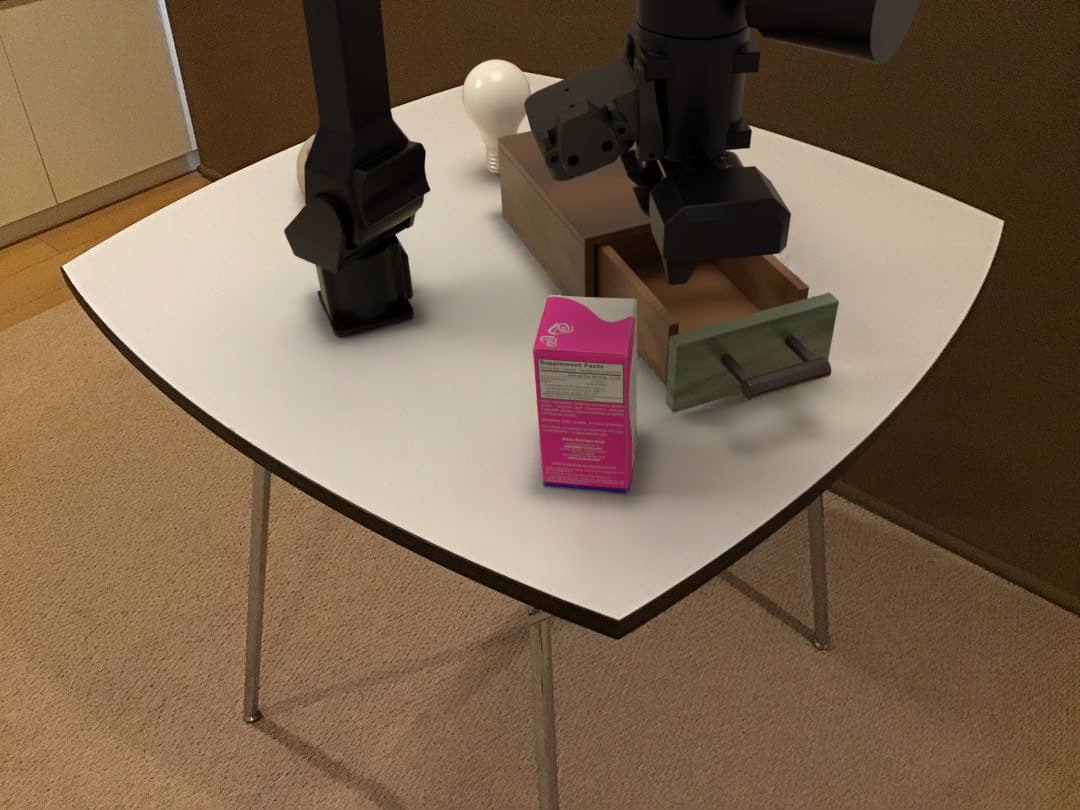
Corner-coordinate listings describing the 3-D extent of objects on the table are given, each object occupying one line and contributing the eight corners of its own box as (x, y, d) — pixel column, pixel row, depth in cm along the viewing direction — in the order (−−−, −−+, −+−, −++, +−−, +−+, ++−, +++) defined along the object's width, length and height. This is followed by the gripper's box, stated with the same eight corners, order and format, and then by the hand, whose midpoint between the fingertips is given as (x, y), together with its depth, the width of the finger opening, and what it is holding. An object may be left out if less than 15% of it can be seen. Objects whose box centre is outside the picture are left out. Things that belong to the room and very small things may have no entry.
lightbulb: (511, 194, 98) (504, 81, 90) (456, 179, 100) (445, 68, 93) (546, 166, 102) (542, 56, 95) (492, 152, 104) (485, 44, 97)
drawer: (863, 402, 71) (878, 334, 68) (703, 452, 68) (710, 383, 64) (707, 251, 87) (712, 188, 83) (571, 285, 84) (570, 222, 80)
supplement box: (552, 429, 72) (547, 290, 64) (638, 437, 71) (643, 297, 63) (538, 488, 67) (531, 346, 60) (629, 497, 66) (633, 353, 59)
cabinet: (737, 282, 85) (746, 199, 80) (585, 323, 81) (584, 238, 76) (636, 184, 98) (639, 108, 93) (502, 215, 95) (497, 137, 90)
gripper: (513, -29, 58) (524, 216, 68) (559, 109, 44) (564, 393, 54) (707, -43, 59) (690, 201, 69) (813, 89, 45) (772, 372, 55)
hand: (676, 281), depth 62 cm, fingers closed
